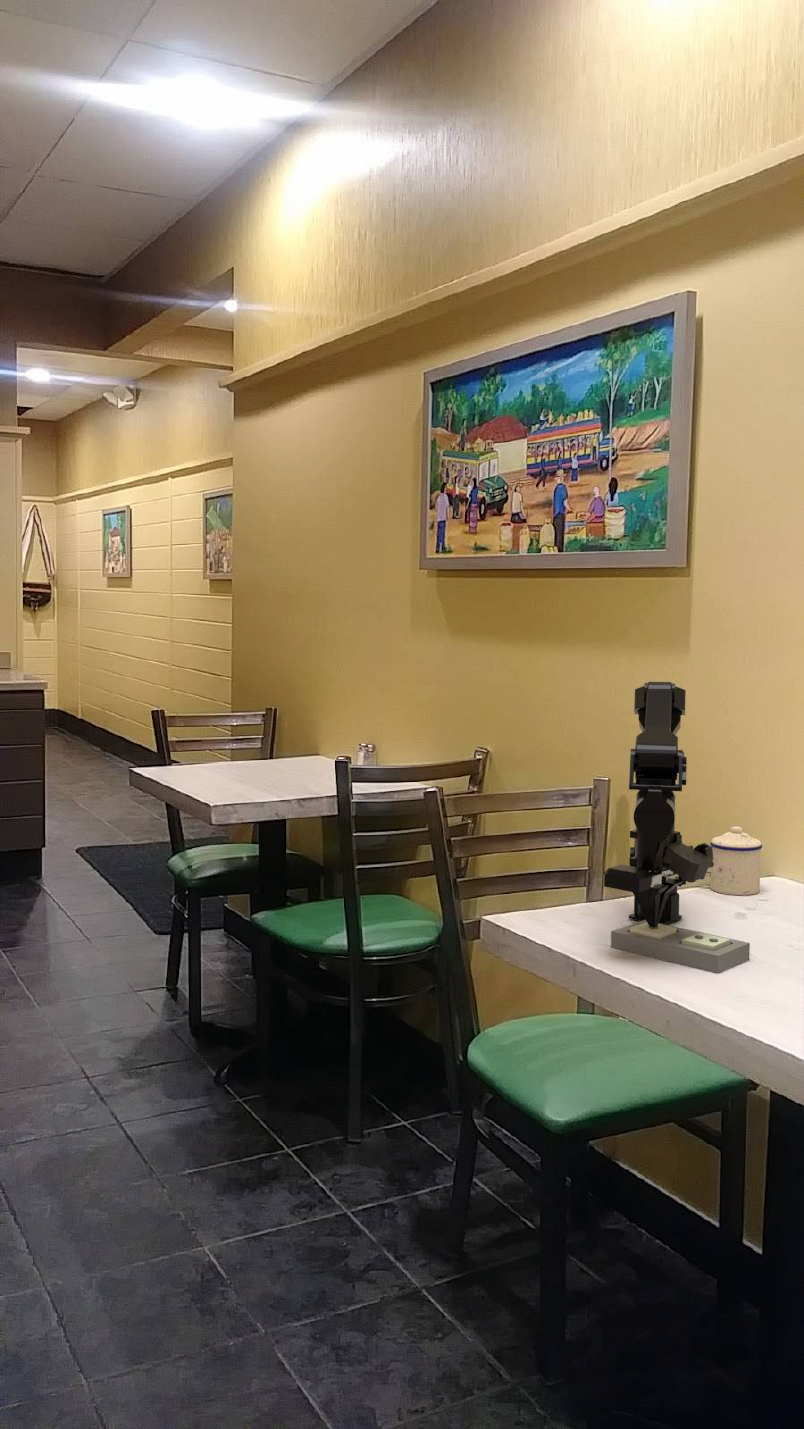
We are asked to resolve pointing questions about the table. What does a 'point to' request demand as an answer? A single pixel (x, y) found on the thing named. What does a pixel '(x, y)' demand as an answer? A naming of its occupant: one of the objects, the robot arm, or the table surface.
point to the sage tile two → (706, 941)
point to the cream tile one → (653, 930)
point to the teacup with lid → (735, 863)
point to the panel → (680, 949)
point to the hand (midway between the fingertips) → (653, 926)
